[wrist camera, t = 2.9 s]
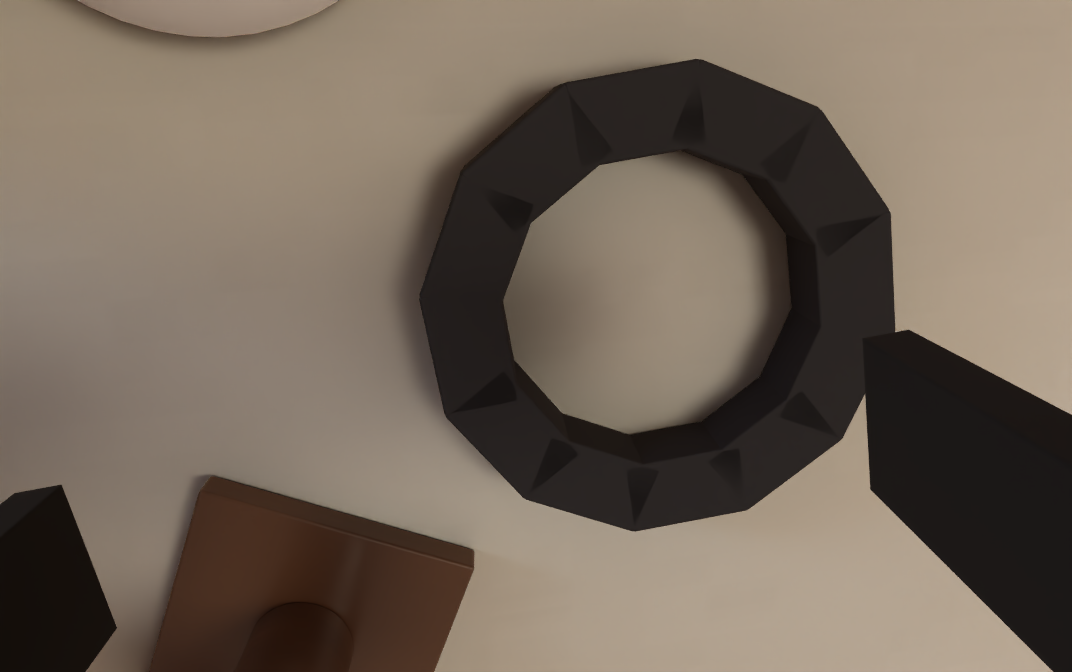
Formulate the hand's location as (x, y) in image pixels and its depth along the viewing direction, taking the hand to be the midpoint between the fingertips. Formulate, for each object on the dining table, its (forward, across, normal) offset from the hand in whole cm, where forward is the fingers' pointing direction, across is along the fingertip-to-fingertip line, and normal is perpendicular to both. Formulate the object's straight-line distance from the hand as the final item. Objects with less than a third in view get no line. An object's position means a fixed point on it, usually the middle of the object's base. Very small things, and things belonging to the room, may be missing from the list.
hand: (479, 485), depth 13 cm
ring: (+9, +5, 0) cm, 11 cm away
